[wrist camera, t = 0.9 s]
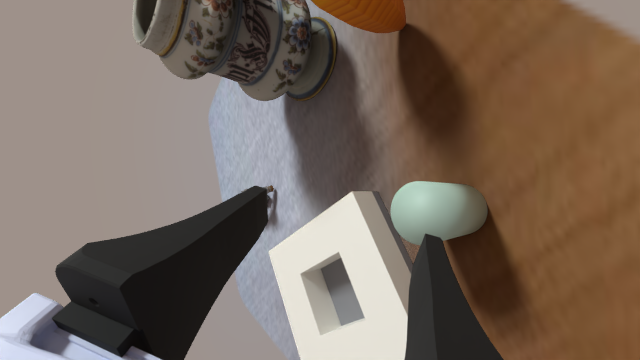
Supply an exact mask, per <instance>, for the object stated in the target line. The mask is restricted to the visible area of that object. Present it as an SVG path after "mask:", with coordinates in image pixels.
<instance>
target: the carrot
mask: <svg viewBox="0 0 640 360" xmlns="http://www.w3.org/2000/svg"><path fill="white" fill-rule="evenodd" d="M311 1H312V2H313V3H314V4H315V5H316V6H318V7H319V8H320V9H322V10H324V11H326V12H327V13H329V14H331V15H333V16H334V17H336V18H338V19H340V20H342V21H344V22H346V23H348V24H349V25H351V26H354V27H357V28H360V29H363V30H366V31H370V32H374V33H390V32H395V31H399V30H402V29H403V28H404V26H405V25H406V15H405V7H404V3H403V0H311Z"/></svg>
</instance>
